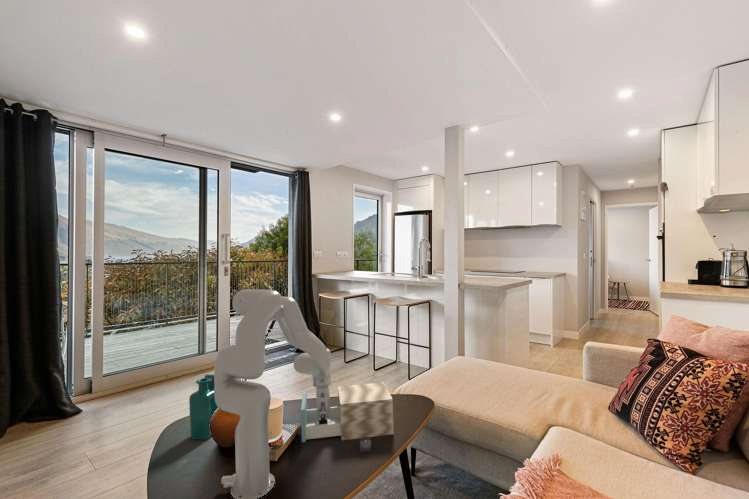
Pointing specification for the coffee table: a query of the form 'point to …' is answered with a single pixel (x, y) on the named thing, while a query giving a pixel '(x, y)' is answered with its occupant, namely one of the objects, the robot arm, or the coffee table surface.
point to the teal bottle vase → (202, 408)
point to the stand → (365, 444)
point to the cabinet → (365, 410)
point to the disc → (318, 422)
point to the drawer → (323, 429)
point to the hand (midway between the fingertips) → (323, 423)
